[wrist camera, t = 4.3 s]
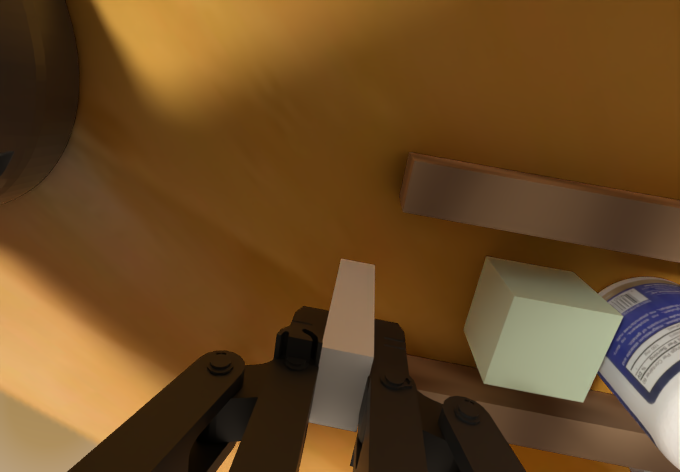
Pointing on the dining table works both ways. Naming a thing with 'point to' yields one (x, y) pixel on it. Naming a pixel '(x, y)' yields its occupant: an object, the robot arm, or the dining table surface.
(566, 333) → the chip cube
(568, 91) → the dining table surface
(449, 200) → the slot rails
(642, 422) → the pill bottle
